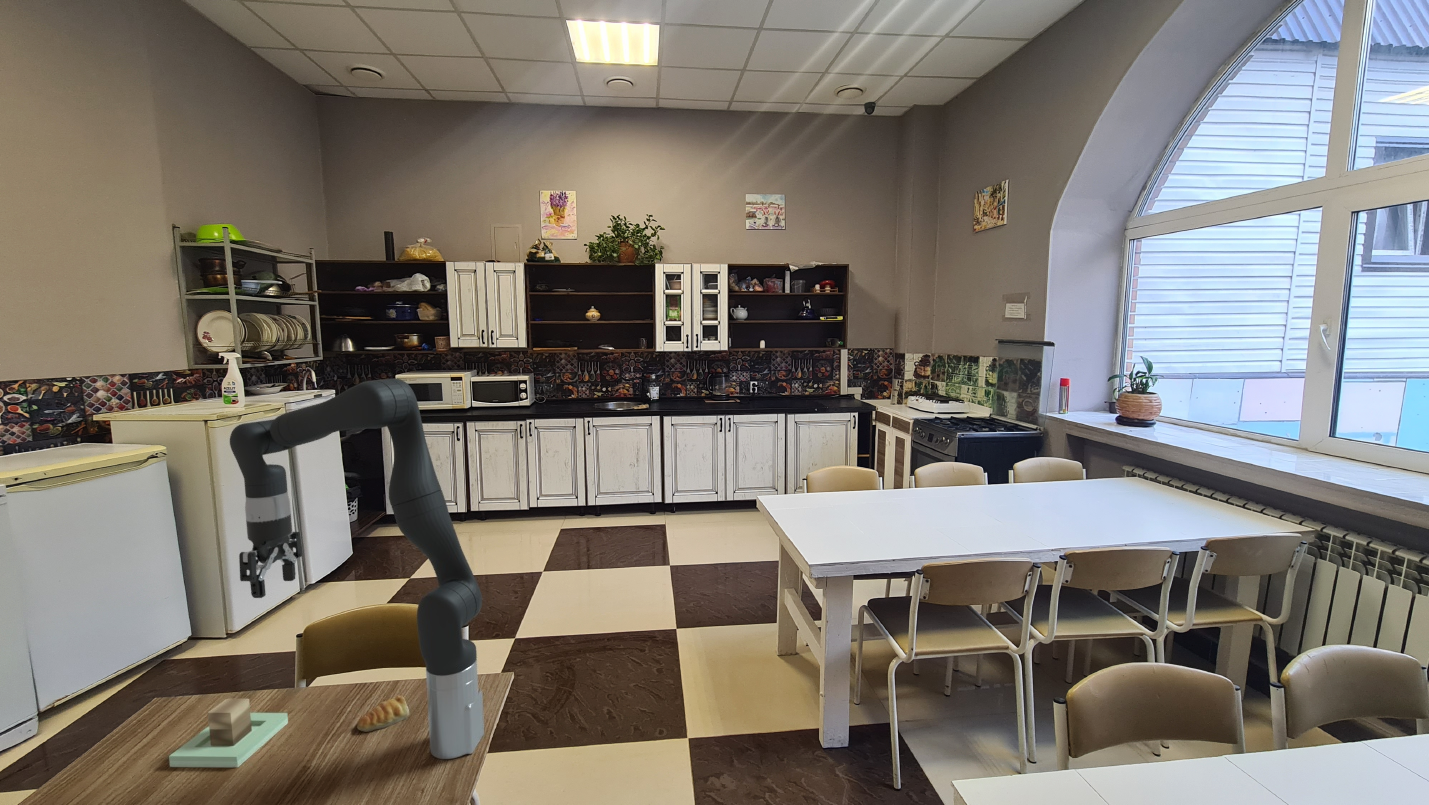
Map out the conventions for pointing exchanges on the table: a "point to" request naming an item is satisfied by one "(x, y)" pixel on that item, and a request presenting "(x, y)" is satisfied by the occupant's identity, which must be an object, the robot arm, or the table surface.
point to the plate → (206, 755)
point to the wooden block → (229, 722)
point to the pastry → (384, 715)
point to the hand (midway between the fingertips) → (274, 588)
